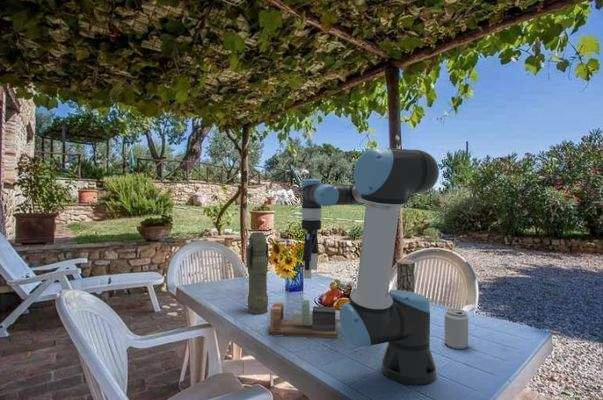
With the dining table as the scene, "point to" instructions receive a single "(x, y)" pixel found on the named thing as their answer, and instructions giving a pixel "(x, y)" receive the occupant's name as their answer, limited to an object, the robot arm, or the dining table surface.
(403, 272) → the bark textured post
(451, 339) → the can
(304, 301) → the pale green block
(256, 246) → the thermos
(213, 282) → the dining table surface
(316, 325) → the tube rig
